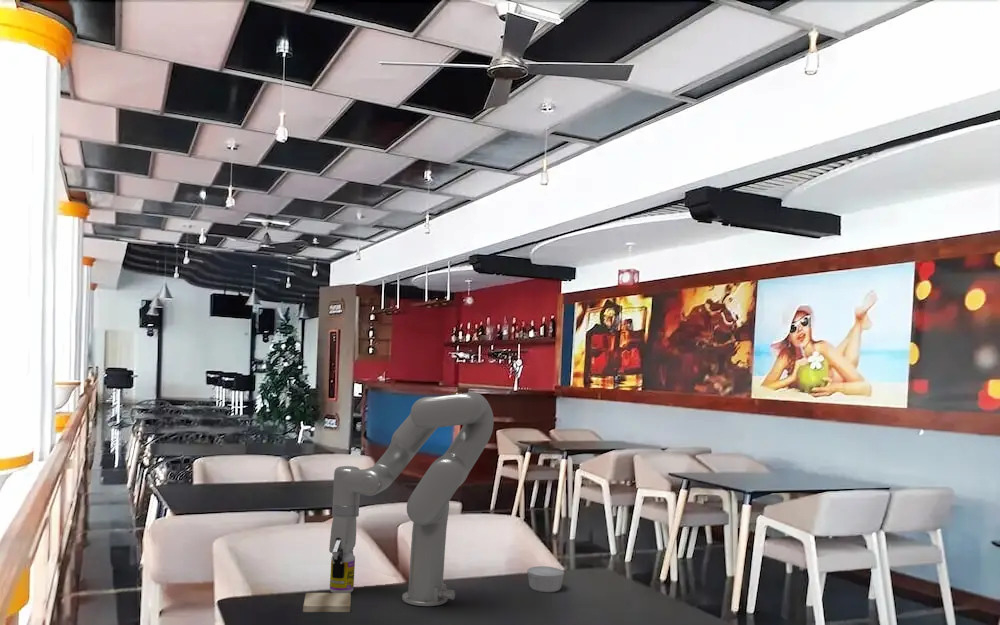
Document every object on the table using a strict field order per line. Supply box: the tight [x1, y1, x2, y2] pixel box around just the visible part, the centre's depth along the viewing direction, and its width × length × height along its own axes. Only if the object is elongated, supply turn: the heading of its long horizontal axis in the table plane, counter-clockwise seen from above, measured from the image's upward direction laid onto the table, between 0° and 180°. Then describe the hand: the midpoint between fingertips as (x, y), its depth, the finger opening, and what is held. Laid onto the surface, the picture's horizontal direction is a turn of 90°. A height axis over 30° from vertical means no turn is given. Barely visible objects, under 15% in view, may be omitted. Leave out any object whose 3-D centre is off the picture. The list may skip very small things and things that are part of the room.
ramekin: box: [526, 565, 565, 593], centre depth 241 cm, size 11×11×5 cm
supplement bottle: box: [329, 546, 356, 593], centre depth 225 cm, size 7×7×13 cm
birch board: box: [302, 592, 352, 613], centre depth 212 cm, size 12×12×2 cm
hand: (342, 574), depth 225 cm, fingers closed on supplement bottle, 6 cm apart
